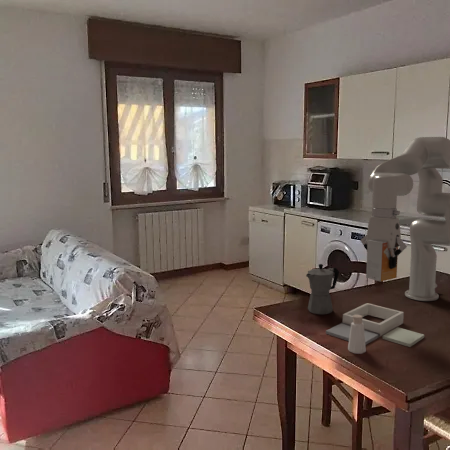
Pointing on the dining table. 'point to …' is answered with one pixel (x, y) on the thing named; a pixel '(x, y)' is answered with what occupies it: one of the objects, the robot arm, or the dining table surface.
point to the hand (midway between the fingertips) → (382, 265)
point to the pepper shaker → (357, 336)
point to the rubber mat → (403, 337)
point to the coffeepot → (321, 289)
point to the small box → (379, 261)
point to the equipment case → (368, 322)
